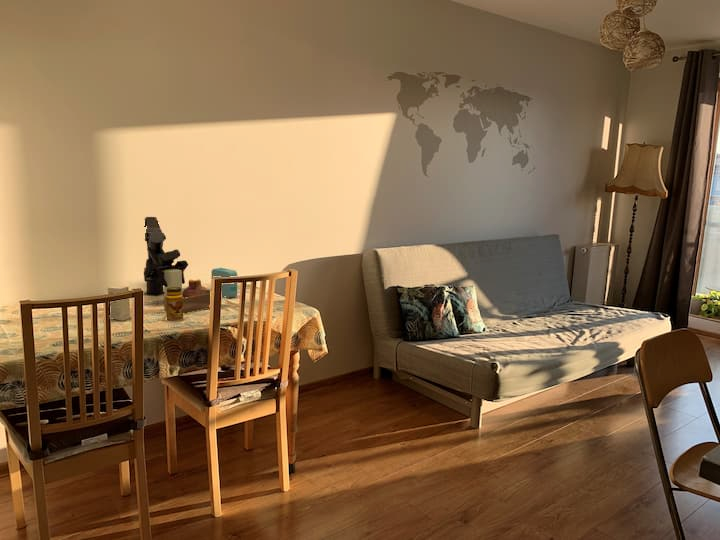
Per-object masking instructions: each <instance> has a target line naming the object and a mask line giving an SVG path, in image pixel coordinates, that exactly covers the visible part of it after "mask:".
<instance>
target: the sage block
mask: <svg viewBox="0 0 720 540" xmlns="http://www.w3.org/2000/svg"><path fill="white" fill-rule="evenodd" d="M164 279H165V280H166V282H167V284H168V286H167V287H165V286H163V290H164V292H165V293H164V295H167V288H170V287H180V288H181V292H182V291H183V284H182V270H177V269H170V270H164ZM181 294H182V293H181Z"/></svg>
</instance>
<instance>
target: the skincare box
mask: <svg viewBox="0 0 720 540" xmlns="http://www.w3.org/2000/svg"><path fill="white" fill-rule="evenodd" d="M129 289H130V288H129V286H124V285H123V286H122V285H113V286H112V285H111V286H108V287H107V295H108V294H114V293H121V292H126V291H129V292H130V290H129ZM130 305H131V304H130V298H129V299H124V300H119V301H113V302H111V303H110V306H111V318H113V319H117V320H116V321H125V320H129V319H131V307H130ZM113 319H112V320H113Z"/></svg>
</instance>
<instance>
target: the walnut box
mask: <svg viewBox="0 0 720 540" xmlns="http://www.w3.org/2000/svg"><path fill="white" fill-rule="evenodd" d="M210 290H211V289H207V288H206V289H203V288H201V289H200V295H197V296H192V297H187V298H186V297H183V313H185V314H189V313H188V312H190V313H194V312H198V311H197V310H199V311H202V310H201V309H203V310H206V309H205V308H208V309H210V308H209V305H210ZM163 305H164V306H163V309H164V311H166V295H165V294H164V295H163ZM193 311H194V312H193Z"/></svg>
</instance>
